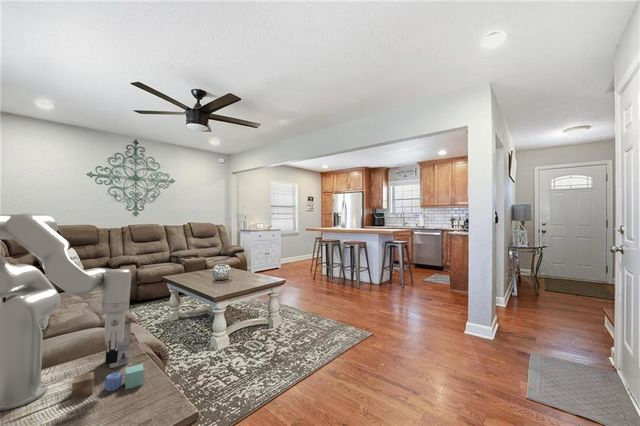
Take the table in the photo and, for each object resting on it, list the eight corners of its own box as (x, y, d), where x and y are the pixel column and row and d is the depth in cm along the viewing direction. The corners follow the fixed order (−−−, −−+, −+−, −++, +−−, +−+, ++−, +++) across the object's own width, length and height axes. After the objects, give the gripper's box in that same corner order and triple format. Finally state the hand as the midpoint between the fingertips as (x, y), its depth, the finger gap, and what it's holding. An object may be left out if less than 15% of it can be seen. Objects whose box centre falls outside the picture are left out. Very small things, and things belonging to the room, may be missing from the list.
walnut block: (71, 400, 87) (72, 383, 87) (73, 392, 91) (74, 376, 91) (92, 394, 89) (93, 378, 90) (93, 387, 94) (94, 371, 94)
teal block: (125, 389, 92) (125, 374, 92) (124, 382, 96) (125, 367, 96) (143, 384, 95) (143, 369, 95) (142, 378, 99) (142, 363, 99)
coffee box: (105, 360, 112) (106, 319, 112) (124, 355, 116) (125, 316, 117) (109, 368, 105) (111, 325, 106) (130, 363, 110) (131, 321, 111)
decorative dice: (103, 392, 91) (104, 379, 91) (107, 385, 94) (108, 373, 94) (118, 389, 92) (119, 377, 92) (122, 383, 96) (122, 371, 96)
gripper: (130, 310, 91) (125, 369, 90) (128, 300, 103) (124, 351, 102) (100, 314, 86) (95, 375, 85) (102, 302, 98) (97, 356, 97)
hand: (111, 362), depth 93 cm, fingers closed
